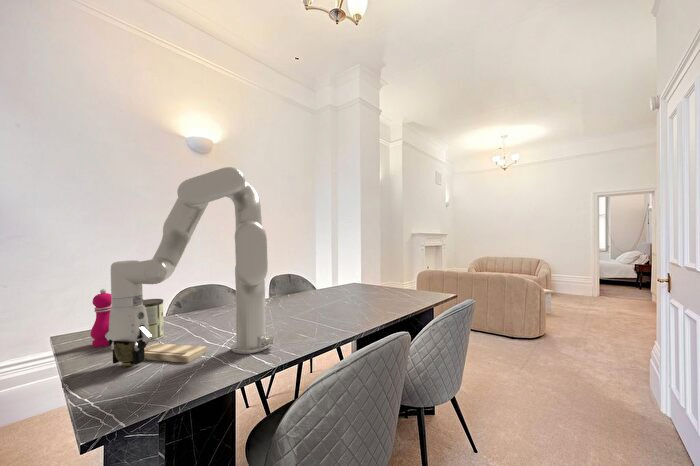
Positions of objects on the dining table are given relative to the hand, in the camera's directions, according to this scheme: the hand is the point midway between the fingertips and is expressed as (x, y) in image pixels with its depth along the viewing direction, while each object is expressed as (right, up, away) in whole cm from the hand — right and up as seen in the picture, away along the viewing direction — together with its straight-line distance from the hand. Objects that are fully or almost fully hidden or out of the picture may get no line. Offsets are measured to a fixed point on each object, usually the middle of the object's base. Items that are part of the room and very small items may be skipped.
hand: (128, 361), depth 89 cm
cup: (0, -1, 0) cm, 1 cm away
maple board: (+8, -1, +7) cm, 11 cm away
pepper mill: (-24, -2, +20) cm, 31 cm away
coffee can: (-11, -2, +25) cm, 27 cm away
